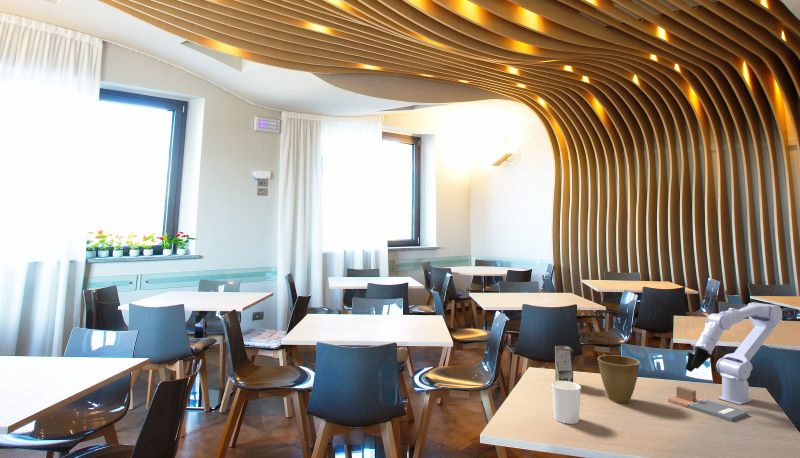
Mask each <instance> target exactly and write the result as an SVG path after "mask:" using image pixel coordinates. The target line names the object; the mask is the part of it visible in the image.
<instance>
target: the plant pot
mask: <svg viewBox="0 0 800 458" xmlns="http://www.w3.org/2000/svg"><path fill="white" fill-rule="evenodd" d="M597 363H598V369H599V373H600V376H601V381H602V383H603V387H604V390H605V393H606V395H607V398H608V400H609V401H612V402H613V403H616V404H617V403H618V404H628V403H630V402H631V399H632V397H633V394H634V391H635V387H636V384H637V380H638V374H639V369H640V361H639V360H638V359H635V358H633V357H630V356H626V355H625V356H624V355H616V354H604V355H600V356H598V357H597Z"/></svg>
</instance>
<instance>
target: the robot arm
mask: <svg viewBox="0 0 800 458" xmlns="http://www.w3.org/2000/svg"><path fill="white" fill-rule="evenodd" d="M748 317H749V320H750V322H751V325H753V326H754V327H753V328H752V330H751V331H750V332H749V334H748V335H747V336H746V337H745V338H744V340H743V341H742V342H741V343H740V345H738V347H737V348H736V350H735V351H734V352H733V353H727V354H725V355H724V356H723V357H721V358H719V359H718V360H717V362H716V365H715V367H716V370H717V372H718V373H719V376H721V395H720V396H717V399H718V400H723V401H727V402H729V403H732V404H736V405H743V404H746V403H748V402H751V401H752V399H751V398H750V396H749V394H750V393H749V391H750V390H749V389H750V388H749V382H748V380H747V379H749V377H750V376H751V373H752V372H751V371H752V370H753V369H754V368H753V363H751V360H752V358H753V357H754V356H755V354H756V353H757V352H758V350H759V349H760V348H761V347H762V346H763V344H764V343H765V341H767V339H768V338H769V337H770V335H771V334H772V332H773V331H774V329H775V328H776V327H777V325H778V324H779V323H780V322H781V321H782V319H783V310H782V308H781V306H780V305H778V304H768V303H762V302H757V301H752V302H749V303H748V304H747V305H746V306H743V307H741V308H739V309H737V308H733V307H729V308H728V310H725V311H720V312H719V313H711V314H709V315H706V319H705V324H704V329H703V330H702V331H701V333H700V335H699V337H698V339H697V340H696V342H695V343H694V342H692V343H691V344H690V346H691V347H692V348H693V352H690V351H688V352H687V361H686V364H685V370H686V371H688V372H690V373H691V372H693V371H694V370H695V369H696V370H697V369H699V368H701V366H702V365H703V364H704V363H705V362H706V361H707V360H709V359H710V358H713V355H712V353H713V351H714V349H715V347H716V345H717V344H718V341H719V340H720V338H721V337H722V335H723V333H724V332H725V331H729V330H731V328H732V326H734V325H736V324H739V323H742V322H743V320H744V319H745V318H748Z"/></svg>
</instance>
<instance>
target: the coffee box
mask: <svg viewBox="0 0 800 458" xmlns="http://www.w3.org/2000/svg"><path fill="white" fill-rule="evenodd" d="M554 348H555V349H554V351H555V352H554V354H555V355H554V359H555V360H554V361H555V362H554V364H555V365H554V367H555V368H554V370H555V376H554V377H555V379H554V380H555V381H569V382H573V383H574V350H573V348H572V347H571V346H569V345H554Z"/></svg>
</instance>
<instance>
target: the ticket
mask: <svg viewBox="0 0 800 458" xmlns="http://www.w3.org/2000/svg"><path fill="white" fill-rule="evenodd" d="M688 409H691V410H694V411H696V412H700V413H703V414H707V415H710V416H713V417H716V418H719V419H721V420H724V421H729V422H734V421H736V420H739V419H742V418H744V417H747V416H748V411H746V410H742V409H739V408H735V407H733V406H728V405H725V404H722V403H718V402H715V401H711V400H708V399H704V400H702V401H699V402H696V403H693V404H690V405H689V407H688Z"/></svg>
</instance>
